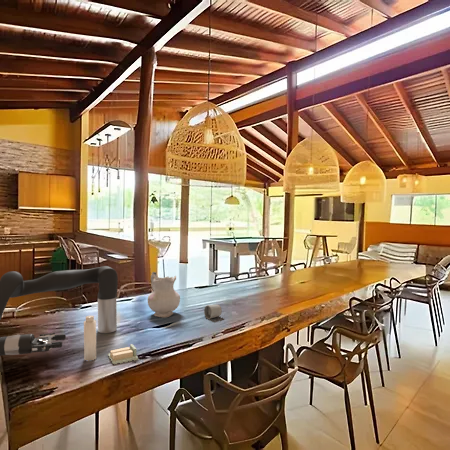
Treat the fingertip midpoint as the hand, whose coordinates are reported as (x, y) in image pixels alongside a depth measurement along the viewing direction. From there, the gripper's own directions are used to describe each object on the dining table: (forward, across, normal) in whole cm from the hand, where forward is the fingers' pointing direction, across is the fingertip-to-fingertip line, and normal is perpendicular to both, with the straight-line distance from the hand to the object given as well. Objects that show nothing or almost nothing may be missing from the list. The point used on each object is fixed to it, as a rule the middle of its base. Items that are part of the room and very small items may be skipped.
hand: (63, 340), depth 145 cm
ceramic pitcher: (+46, -56, -9) cm, 73 cm away
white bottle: (+10, 0, -9) cm, 13 cm away
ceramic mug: (+73, -43, -9) cm, 85 cm away
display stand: (+23, +3, -9) cm, 25 cm away
